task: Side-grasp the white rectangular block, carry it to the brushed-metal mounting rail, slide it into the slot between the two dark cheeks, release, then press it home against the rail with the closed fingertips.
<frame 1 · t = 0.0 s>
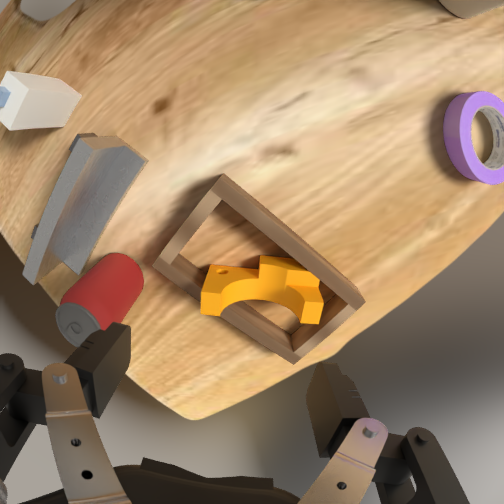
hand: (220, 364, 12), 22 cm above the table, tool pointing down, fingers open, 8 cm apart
white rectangular block: (61, 102, 27), on the table
mounting rail: (81, 197, 32), on the table
parts corral: (262, 272, 35), on the table
masking tape: (473, 136, 28), on the table
beer can: (122, 274, 35), on the table
pipe clamp: (262, 272, 35), resting in parts corral
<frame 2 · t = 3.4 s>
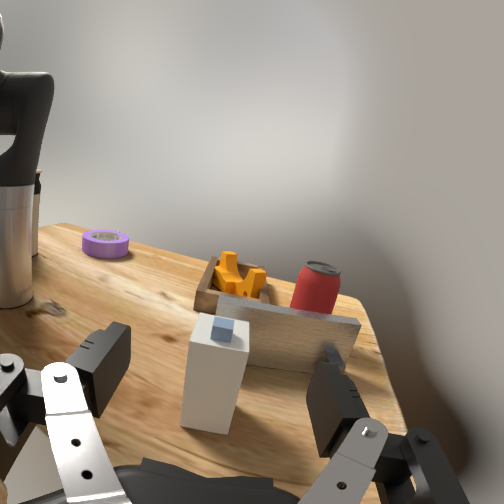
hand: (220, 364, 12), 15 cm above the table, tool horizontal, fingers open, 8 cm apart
white rectangular block: (206, 413, 26), on the table
mounting rail: (277, 368, 36), on the table
travel mug: (22, 254, 50), on the table
parts corral: (232, 293, 58), on the table
masking tape: (104, 251, 65), on the table
beer can: (301, 337, 46), on the table
pipe clamp: (232, 293, 58), resting in parts corral
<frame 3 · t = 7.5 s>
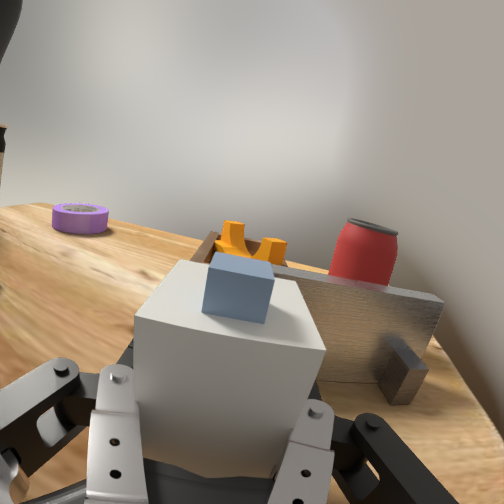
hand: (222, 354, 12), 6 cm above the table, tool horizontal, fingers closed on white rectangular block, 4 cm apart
white rectangular block: (200, 475, 11), on the table, touching gripper
mounting rail: (318, 380, 21), on the table
parts corral: (238, 274, 43), on the table
masking tape: (78, 228, 50), on the table
beer can: (341, 331, 31), on the table
pipe clamp: (238, 274, 43), resting in parts corral
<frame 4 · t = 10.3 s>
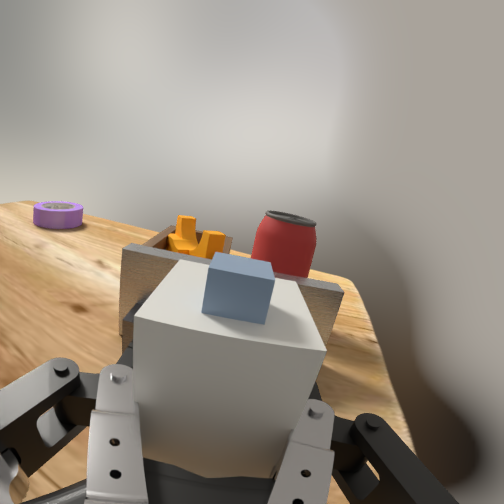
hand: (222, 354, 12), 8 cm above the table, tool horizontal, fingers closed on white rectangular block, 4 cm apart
white rectangular block: (200, 475, 11), point 2 cm above the table, touching gripper
mounting rail: (216, 357, 24), on the table
parts corral: (187, 264, 46), on the table
masking tape: (57, 224, 53), on the table
beer can: (266, 318, 34), on the table
pipe clamp: (187, 264, 46), resting in parts corral
when the fingers open (7 cm above the table, at t = 13.3 s): white rectangular block stays where it is, on the table.
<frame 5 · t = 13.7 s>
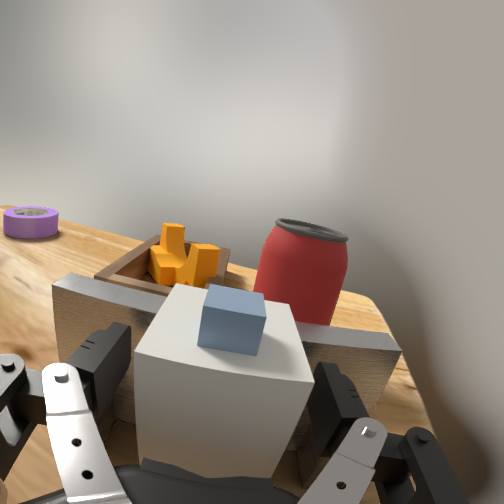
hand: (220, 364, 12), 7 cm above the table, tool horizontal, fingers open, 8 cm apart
white rectangular block: (198, 483, 11), on the table
mounting rail: (205, 440, 15), on the table
parts corral: (173, 285, 36), on the table
masking tape: (30, 232, 44), on the table
beer can: (275, 364, 25), on the table
pipe clamp: (173, 285, 36), resting in parts corral
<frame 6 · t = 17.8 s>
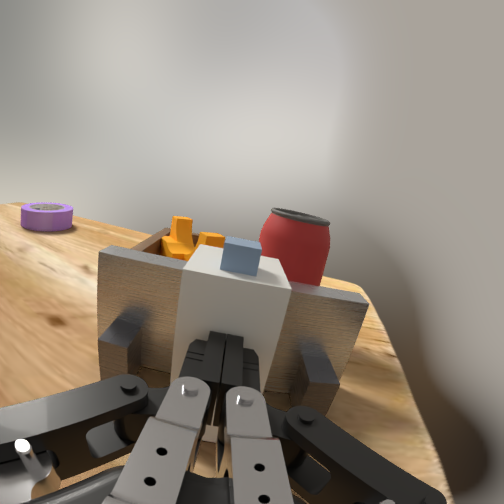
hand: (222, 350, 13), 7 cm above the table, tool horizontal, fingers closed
white rectangular block: (209, 413, 17), on the table, touching gripper
mounting rail: (214, 382, 20), on the table
parts corral: (183, 270, 42), on the table
masking tape: (45, 226, 49), on the table
beer can: (272, 332, 30), on the table
pipe clamp: (183, 270, 42), resting in parts corral
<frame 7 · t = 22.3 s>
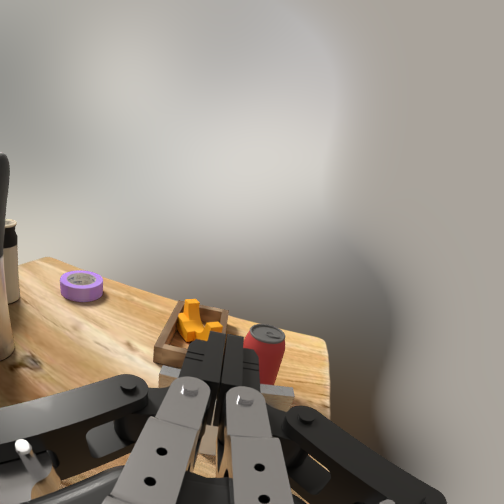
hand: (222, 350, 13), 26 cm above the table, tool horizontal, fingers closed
white rectangular block: (216, 442, 34), on the table
mounting rail: (218, 426, 37), on the table
travel mug: (6, 298, 51), on the table
parts corral: (194, 340, 59), on the table
masking tape: (81, 293, 66), on the table
beer can: (251, 391, 47), on the table
pipe clamp: (194, 340, 59), resting in parts corral
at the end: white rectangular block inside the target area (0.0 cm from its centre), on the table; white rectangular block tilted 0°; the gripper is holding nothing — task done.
